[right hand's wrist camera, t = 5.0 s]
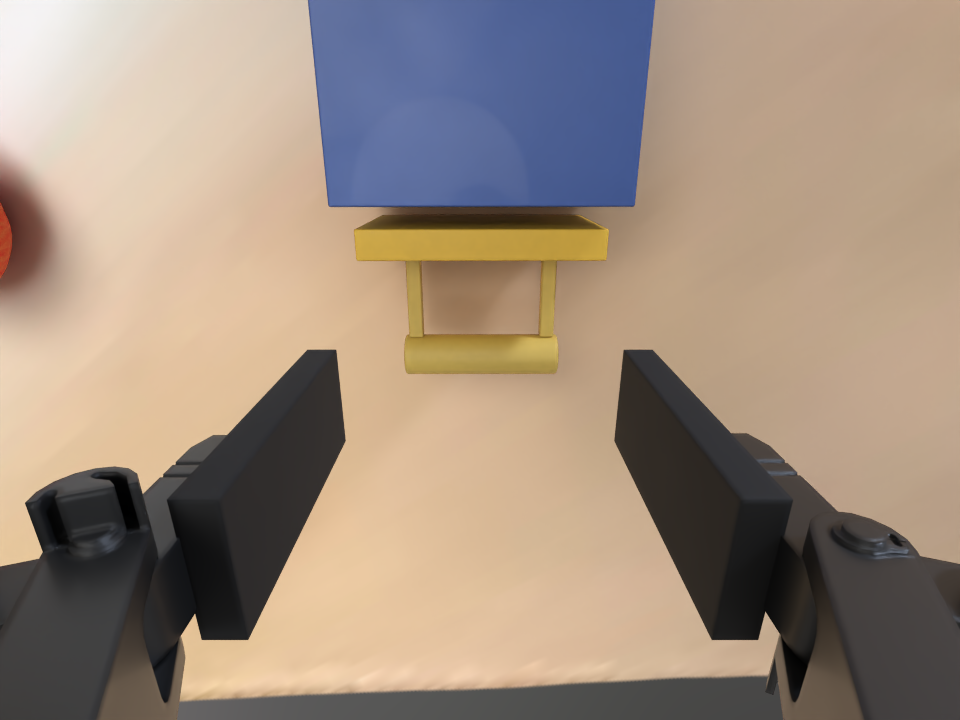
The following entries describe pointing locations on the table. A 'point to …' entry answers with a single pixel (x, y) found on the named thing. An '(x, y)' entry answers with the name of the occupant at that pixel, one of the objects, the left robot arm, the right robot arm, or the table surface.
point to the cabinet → (481, 101)
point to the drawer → (481, 243)
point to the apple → (4, 241)
